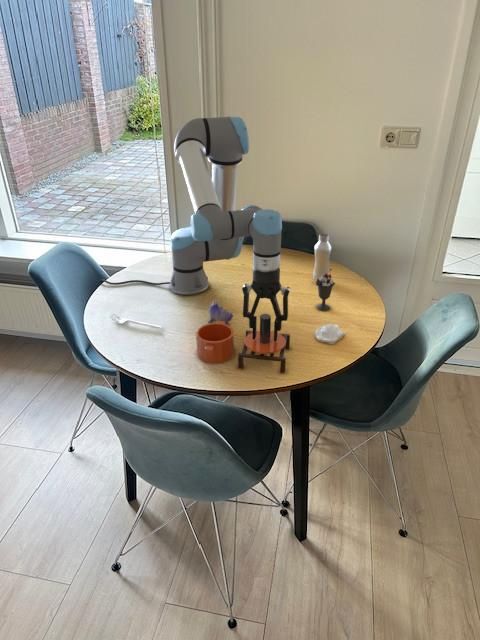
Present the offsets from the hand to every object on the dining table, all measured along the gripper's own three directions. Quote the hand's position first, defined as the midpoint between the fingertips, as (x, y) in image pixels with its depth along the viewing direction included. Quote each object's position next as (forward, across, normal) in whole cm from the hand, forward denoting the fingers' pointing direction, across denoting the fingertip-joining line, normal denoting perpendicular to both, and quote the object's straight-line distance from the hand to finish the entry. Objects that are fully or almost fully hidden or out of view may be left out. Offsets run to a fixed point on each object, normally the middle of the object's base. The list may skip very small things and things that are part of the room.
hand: (265, 337), depth 144 cm
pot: (+7, -16, 0) cm, 17 cm away
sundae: (+7, +16, +36) cm, 40 cm away
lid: (+2, 0, 0) cm, 2 cm away
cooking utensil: (+7, -52, +13) cm, 54 cm away
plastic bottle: (+7, +14, +56) cm, 59 cm away
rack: (+7, 0, 0) cm, 7 cm away
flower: (+7, -18, +16) cm, 26 cm away
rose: (+7, +20, +16) cm, 26 cm away
